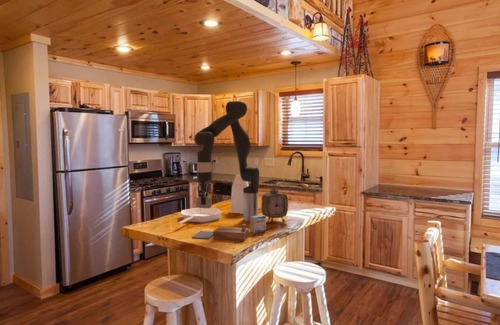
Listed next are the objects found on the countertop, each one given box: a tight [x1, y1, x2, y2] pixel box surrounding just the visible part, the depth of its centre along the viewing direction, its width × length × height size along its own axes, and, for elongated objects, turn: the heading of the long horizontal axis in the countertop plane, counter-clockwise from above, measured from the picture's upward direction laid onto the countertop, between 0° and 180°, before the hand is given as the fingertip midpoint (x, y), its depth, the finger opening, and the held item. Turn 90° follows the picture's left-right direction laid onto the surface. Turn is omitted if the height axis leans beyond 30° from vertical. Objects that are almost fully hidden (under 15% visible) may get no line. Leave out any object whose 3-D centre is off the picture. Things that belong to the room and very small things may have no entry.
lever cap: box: [195, 196, 213, 208], centre depth 173 cm, size 4×7×6 cm, turn 77°
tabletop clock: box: [260, 180, 289, 225], centre depth 204 cm, size 14×9×25 cm, turn 117°
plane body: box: [212, 223, 250, 242], centre depth 171 cm, size 10×16×7 cm, turn 77°
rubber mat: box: [191, 230, 213, 240], centre depth 174 cm, size 12×9×1 cm
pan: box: [177, 207, 222, 225], centre depth 206 cm, size 28×41×4 cm
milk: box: [230, 174, 250, 215], centre depth 232 cm, size 12×12×26 cm
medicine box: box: [249, 214, 267, 234], centre depth 182 cm, size 8×4×9 cm, turn 126°
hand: (204, 203), depth 173 cm, fingers closed on lever cap, 3 cm apart
